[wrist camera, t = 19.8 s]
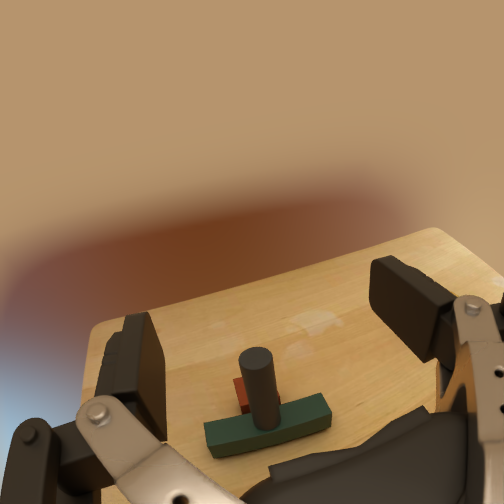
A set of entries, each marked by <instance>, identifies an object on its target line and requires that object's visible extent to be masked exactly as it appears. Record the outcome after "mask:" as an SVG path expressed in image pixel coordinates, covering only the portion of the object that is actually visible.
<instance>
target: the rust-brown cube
mask: <svg viewBox="0 0 504 504" xmlns="http://www.w3.org/2000/svg"><path fill="white" fill-rule="evenodd" d="M233 381H234V385H235V389H236V393H237V397H238V400H239V404H240V408H241V411H242V415H243V414H248V413H251V411H250V407H249V403H248V399H247V395H246V391H245V387H244V382H243V378H242V377H240V378H236V379H233ZM277 393H278V391H277ZM278 401H279V405H281V403H280V396H279V393H278Z"/></svg>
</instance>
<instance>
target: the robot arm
mask: <svg viewBox="0 0 504 504" xmlns="http://www.w3.org/2000/svg"><path fill="white" fill-rule="evenodd" d="M369 302H370V306H371V308H372V310H373V311H374V312H375V313H376V314H377V315H378V316H379V317H380V318H381V320H382V321H383V322H384V323H385V324H386V325H387V326H388V327H389V328H390V329H391V330H392V331H393V332H394V333H395V334H396V335H397V336H398V337H399V338H400V339H401V340H402V341H403V342H404V343H405V344H406V345H407V346H408V347H409V348H410V349H411V351H412V352H413V353H414V354H415V355H416V356H417V357H418V358H419V359H420V360H421V361H422V362H423V363H426V362H428V361H430V360H432V359H434V358H437V359H438V362H437V365H436V409H435V413H431V414H429V412H428V411H427V410H426V409H425V407H424V406H423V405H422V406H420V407H418V408H417V409H415V410H413V411H411V412H409V413H407V414H405V415H403V416H401V417H399V418H397V419H395V420H393V421H391V422H390V423H389V424H387V425H386V426H385V427H384V428H382V429H381V430H380V431H379V432H377V433H376V434H375V435H373V436H372V437H371V438H369V439H368V440H367V441H365V442H364V443H363V444H361V445H360V446H357V447H354V448H348V449H342V450H335V451H328V452H321V453H312V454H309V455H305V456H302V457H299V458H296V459H292V460H289V461H286V462H282V463H278V464H275V465H271V466H268V468H269V472H270V477H268V478H267V479H265V480H263V481H261V482H259V483H258V484H256V485H255V486H253V487H252V488H251V489H249V490H248V491H247V492H246V493H244V494H243V495H242V496H241V497H240V498H239V499H238V498H237V497H236V496H234V495H233V494H231V493H230V492H228V491H227V490H225V489H224V488H223V487H221V486H220V485H219V484H217V483H216V482H215V481H213V480H212V479H211V478H209V477H208V476H207V475H205V474H204V473H203V472H201V471H200V470H199V469H198V468H196V467H195V466H194V465H193V464H191V463H190V462H189V461H188V460H187V459H185V458H184V457H183V456H182V455H181V454H179V453H178V452H177V451H176V450H175V449H174V448H172V447H171V446H170V445H168V444H167V443H164V444H162V443H161V442H163V441H167V421H166V383H165V358H164V353H163V350H162V347H161V344H160V341H159V339H158V336H157V333H156V331H155V328H154V325H153V323H152V320H151V317H150V315H149V313H148V312H141V313H136V314H131V315H126V317H125V320H124V325H123V329H122V331H120V332H115V333H114V334H113V335H112V337H111V338H110V339H109V341H108V342H107V343H106V347H105V351H104V356H103V359H102V365H101V368H100V372H99V377H98V381H97V386H96V390H95V395H94V398H91V399H90V400H88V401H87V402H85V403H84V404H83V405H82V406H81V407H80V409H79V410H78V412H77V415H76V420H75V421H72V422H69V423H66V424H63V425H60V426H58V427H54V428H51V426H50V425H49V424H48V423H47V422H46V421H45V420H43V419H41V418H30V419H27V420H25V421H24V422H22V423H21V424H20V425H19V426H18V427H17V429H16V430H15V432H14V434H13V437H12V441H11V445H10V449H9V453H8V458H7V462H6V467H5V472H4V477H3V483H2V489H1V496H0V504H101V489H102V488H105V487H108V486H112V485H116V486H117V488H118V489H119V490H120V491H121V493H122V494H123V495H124V496H125V497H126V498H127V500H128V501H129V502H130V503H131V504H504V293H503V297H502V300H501V303H497V304H491V305H489V303H488V302H487V301H485V300H484V299H482V298H480V297H477V296H473V295H463V296H460V297H456V296H455V295H454V294H452V293H451V292H450V291H448V290H447V289H445V288H444V287H443V286H441V285H440V284H438V283H437V282H434V281H433V279H431V278H430V277H428V276H426V275H425V274H424V273H423V272H421V271H420V270H418V269H416V268H414V267H411V266H408V265H406V264H404V263H403V262H401V261H400V260H398V259H397V258H395V257H394V256H392V255H389V256H386V257H382V258H378V259H375V260H373V261H372V263H371V268H370V286H369Z"/></svg>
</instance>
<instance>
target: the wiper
mask: <svg viewBox="0 0 504 504" xmlns="http://www.w3.org/2000/svg"><path fill="white" fill-rule="evenodd" d="M239 366H240V370H241V374H242V378H243V382H244V387H245V391H246V395H247V399H248V403H249V407H250V411H251V413H248V414H243V415H239V416H235V417H230V418H226V419H221V420H216V421H211V422H206V423H204V429H205V435H206V442H207V447H208V449H209V451H210V452H211V454H212V456H213V458H219V457H224V456H229V455H234V454H239V453H243V452H248V451H252V450H256V449H260V448H264V447H268V446H272V445H275V444H279V443H282V442H286V441H289V440H293V439H296V438H299V437H302V436H305V435H309V434H312V433H315V432H318V431H320V430H323V429H326V428H329V427H331V421H332V412H331V410H330V408H329V406H328V404H327V403H326V401H325V399H324V397H323V395H322V394H321V393H317V394H314V395H311V396H308V397H305V398H302V399H299V400H295V401H292V402H289V403H285V404H282V405H279V401H278V393H277V386H276V379H275V371H274V364H273V357H272V353H271V352H270V351H269V350H268V349H266V348H263V347H252V348H249V349H247V350H245V351H243V352H242V353H241V354H240V356H239Z"/></svg>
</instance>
